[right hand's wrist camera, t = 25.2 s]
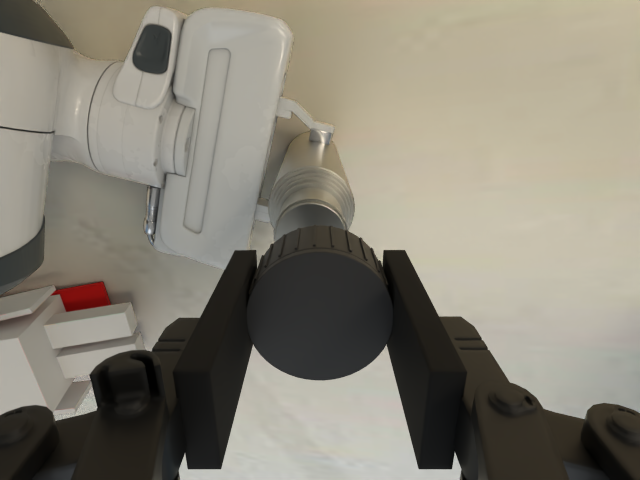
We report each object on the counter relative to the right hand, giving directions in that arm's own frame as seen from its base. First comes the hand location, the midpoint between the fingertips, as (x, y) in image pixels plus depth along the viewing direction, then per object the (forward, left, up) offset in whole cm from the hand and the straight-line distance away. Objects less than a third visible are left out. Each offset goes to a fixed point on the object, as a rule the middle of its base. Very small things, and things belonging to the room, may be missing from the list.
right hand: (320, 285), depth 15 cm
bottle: (0, 0, -27) cm, 27 cm away
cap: (0, 0, +2) cm, 2 cm away
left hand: (0, 0, -20) cm, 20 cm away
